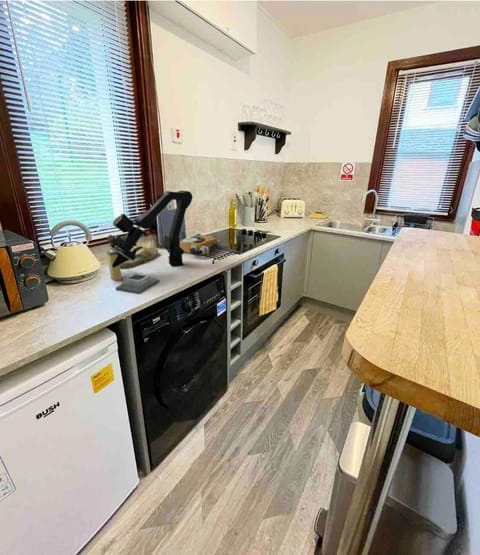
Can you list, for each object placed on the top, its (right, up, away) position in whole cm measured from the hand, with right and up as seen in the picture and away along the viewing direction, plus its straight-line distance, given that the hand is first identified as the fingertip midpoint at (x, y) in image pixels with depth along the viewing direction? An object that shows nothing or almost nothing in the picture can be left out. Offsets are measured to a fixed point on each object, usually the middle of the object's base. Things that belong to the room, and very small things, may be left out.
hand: (111, 265), depth 125 cm
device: (+34, +11, +47) cm, 59 cm away
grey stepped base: (+14, -9, -5) cm, 18 cm away
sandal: (+3, +4, +29) cm, 29 cm away
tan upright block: (+1, -6, +3) cm, 7 cm away
